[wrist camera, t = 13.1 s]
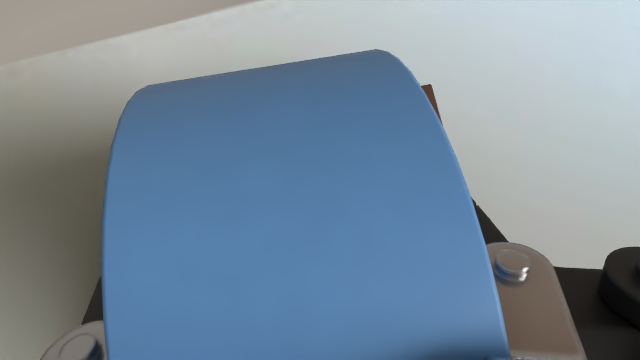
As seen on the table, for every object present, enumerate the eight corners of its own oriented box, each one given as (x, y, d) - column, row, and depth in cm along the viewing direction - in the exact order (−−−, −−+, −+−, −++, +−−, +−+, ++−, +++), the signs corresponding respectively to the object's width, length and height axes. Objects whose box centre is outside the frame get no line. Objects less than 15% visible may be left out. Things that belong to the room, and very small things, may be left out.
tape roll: (258, 460, 14) (135, 893, 4) (216, 163, 16) (73, -34, 6) (405, 427, 14) (634, 748, 4) (344, 141, 16) (400, -80, 7)
